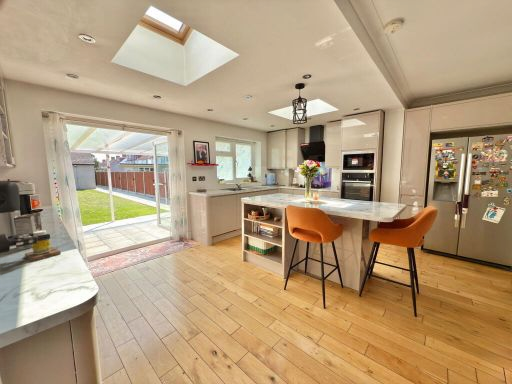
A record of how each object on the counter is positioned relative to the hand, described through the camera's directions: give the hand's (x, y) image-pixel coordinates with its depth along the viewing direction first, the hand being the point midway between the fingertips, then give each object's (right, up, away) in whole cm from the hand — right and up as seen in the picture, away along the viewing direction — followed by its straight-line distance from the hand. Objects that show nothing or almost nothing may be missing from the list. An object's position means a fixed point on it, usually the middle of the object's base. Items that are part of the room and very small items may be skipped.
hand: (46, 234), depth 93 cm
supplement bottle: (-1, -8, -1) cm, 8 cm away
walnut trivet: (-1, -9, -1) cm, 9 cm away
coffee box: (-21, -9, +13) cm, 26 cm away
